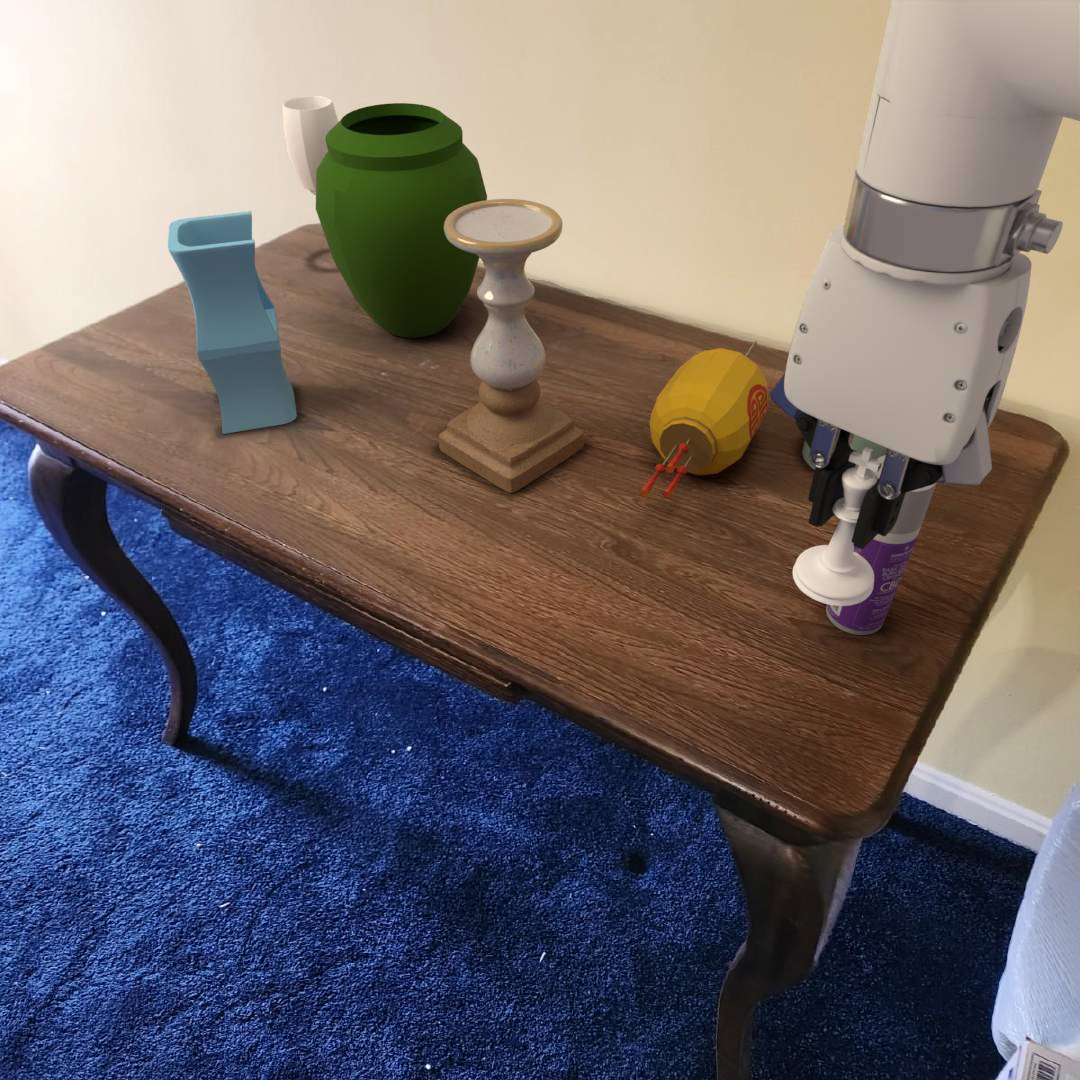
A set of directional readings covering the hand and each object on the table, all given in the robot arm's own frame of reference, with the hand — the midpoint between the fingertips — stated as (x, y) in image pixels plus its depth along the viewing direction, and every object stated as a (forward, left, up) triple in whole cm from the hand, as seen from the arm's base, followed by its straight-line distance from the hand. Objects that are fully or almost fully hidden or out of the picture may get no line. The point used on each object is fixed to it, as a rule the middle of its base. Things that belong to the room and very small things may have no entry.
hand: (847, 523), depth 51 cm
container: (-10, -8, -19) cm, 23 cm away
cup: (+24, -89, -19) cm, 95 cm away
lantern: (-8, -32, -19) cm, 39 cm away
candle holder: (+11, -38, -19) cm, 45 cm away
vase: (+16, -67, -19) cm, 72 cm away
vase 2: (+36, -53, -19) cm, 67 cm away
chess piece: (0, 0, -5) cm, 5 cm away
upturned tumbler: (-21, -27, -19) cm, 39 cm away
